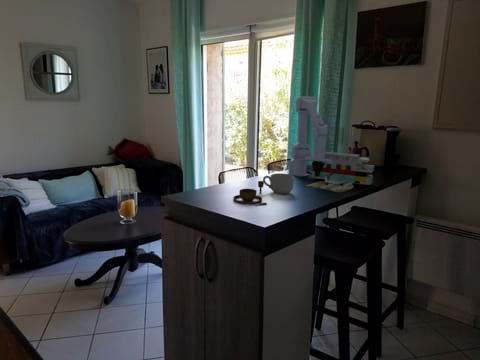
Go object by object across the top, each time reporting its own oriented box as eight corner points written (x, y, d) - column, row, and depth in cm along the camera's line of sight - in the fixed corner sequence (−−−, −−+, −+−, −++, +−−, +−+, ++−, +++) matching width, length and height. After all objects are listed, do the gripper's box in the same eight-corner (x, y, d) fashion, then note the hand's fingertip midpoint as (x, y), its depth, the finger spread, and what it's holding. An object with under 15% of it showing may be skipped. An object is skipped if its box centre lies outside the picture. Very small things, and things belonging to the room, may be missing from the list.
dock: (305, 187, 176) (305, 180, 175) (318, 183, 186) (318, 176, 185) (341, 194, 164) (342, 186, 163) (353, 189, 175) (353, 182, 174)
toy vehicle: (370, 187, 176) (373, 158, 173) (311, 180, 190) (313, 152, 187) (372, 184, 183) (375, 156, 180) (315, 177, 197) (317, 150, 194)
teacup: (294, 191, 163) (295, 174, 161) (291, 197, 153) (292, 179, 151) (265, 188, 167) (266, 172, 165) (260, 193, 156) (261, 176, 155)
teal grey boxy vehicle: (324, 185, 173) (324, 174, 171) (331, 183, 177) (332, 172, 176) (337, 187, 168) (338, 176, 167) (344, 185, 173) (345, 175, 171)
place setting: (223, 198, 148) (223, 185, 147) (260, 193, 160) (260, 180, 159) (249, 209, 135) (249, 194, 133) (286, 202, 146) (287, 188, 145)
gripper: (302, 148, 177) (300, 175, 180) (329, 151, 168) (327, 179, 171) (309, 147, 182) (307, 173, 185) (335, 150, 173) (333, 177, 176)
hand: (317, 176), depth 178 cm, fingers closed
